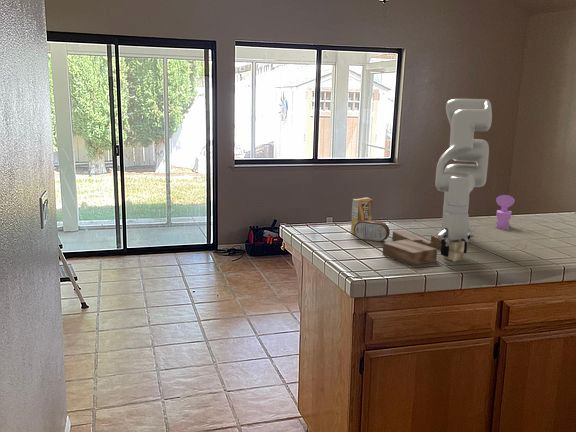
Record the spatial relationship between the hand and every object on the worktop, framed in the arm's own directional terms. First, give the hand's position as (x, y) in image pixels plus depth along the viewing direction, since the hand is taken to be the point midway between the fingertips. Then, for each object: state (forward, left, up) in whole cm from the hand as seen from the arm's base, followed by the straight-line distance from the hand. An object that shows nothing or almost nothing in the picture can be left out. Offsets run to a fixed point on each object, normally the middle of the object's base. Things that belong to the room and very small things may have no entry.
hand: (453, 254), depth 203 cm
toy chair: (-63, -27, -2) cm, 69 cm away
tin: (+10, -36, -2) cm, 37 cm away
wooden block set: (-4, -22, -2) cm, 22 cm away
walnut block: (+14, -9, -2) cm, 17 cm away
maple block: (0, 0, -2) cm, 2 cm away
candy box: (+5, -49, -2) cm, 49 cm away
